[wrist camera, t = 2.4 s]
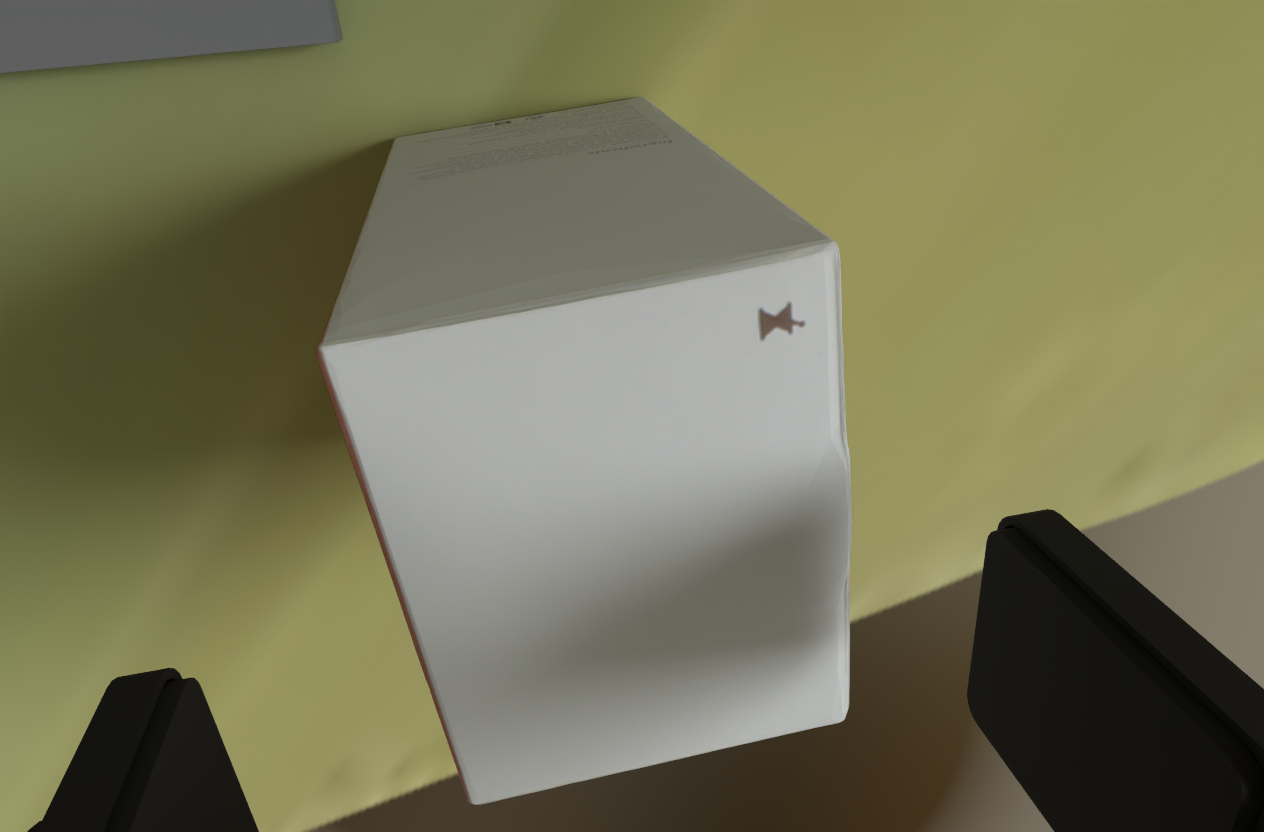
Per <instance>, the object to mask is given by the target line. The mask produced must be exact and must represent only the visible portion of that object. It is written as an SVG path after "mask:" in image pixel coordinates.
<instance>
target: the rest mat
mask: <svg viewBox="0 0 1264 832" xmlns="http://www.w3.org/2000/svg"><path fill="white" fill-rule="evenodd" d="M340 40H342V35H341V30H340V26H339V21H338V16H337V11H336V7H335V2H334V0H0V73H7V72H18V71H29V70H40V69H51V68H62V67H73V66H84V65H94V64H105V63H116V62H127V61H138V60H149V59H160V58H171V57H182V56H193V55H204V54H215V53H225V52H236V51H247V50H258V49H269V48H280V47H291V46H302V45H313V44H324V43H335V42H338V41H340Z"/></svg>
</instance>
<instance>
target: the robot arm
mask: <svg viewBox="0 0 1264 832" xmlns="http://www.w3.org/2000/svg"><path fill="white" fill-rule="evenodd" d="M967 698H968V704H969V708H970V711H971V713H972V716H973V718H974V720H975V721H976V723H977V725H978V726H979V727H980V729H981V730H982V732H983V733H984V734H985V736H986V737H987V739H988V740H989V741H990V743H991V744H992V745H993V747H994V748H995V750H996V751H997V752H998V754H999V755H1000V757H1001V758H1002V759H1003V761H1004V762H1005V764H1006V765H1007V766H1008V768H1009V769H1010V771H1011V772H1012V773H1013V775H1014V776H1015V778H1016V779H1017V780H1018V782H1019V783H1020V784H1021V786H1022V787H1023V789H1024V790H1025V791H1026V793H1027V794H1028V796H1029V797H1030V798H1031V800H1032V801H1033V803H1034V804H1035V805H1036V807H1037V808H1038V810H1039V811H1040V812H1041V814H1042V815H1043V816H1044V818H1045V819H1046V820H1047V822H1048V823H1049V825H1050V826H1051V828H1052V829H1053V830H1054V832H1264V689H1263V688H1262V687H1261V686H1259V685H1258V684H1257V683H1256V682H1255V681H1253V680H1252V679H1251V678H1250V677H1249V676H1248V675H1247V674H1245V673H1244V672H1243V671H1242V670H1241V669H1240V668H1239V667H1237V666H1236V665H1235V664H1234V663H1233V662H1231V661H1230V660H1229V659H1228V658H1227V657H1226V656H1225V655H1223V654H1222V653H1221V652H1220V651H1219V650H1218V649H1216V648H1215V647H1214V646H1213V645H1212V644H1211V643H1209V642H1208V641H1207V640H1206V639H1205V638H1203V637H1202V636H1201V635H1200V634H1199V633H1198V632H1197V631H1195V630H1194V629H1193V628H1192V627H1191V626H1190V625H1188V624H1187V623H1186V622H1185V621H1184V620H1183V619H1181V618H1180V617H1179V616H1178V615H1177V614H1176V613H1174V612H1173V611H1172V610H1171V609H1170V608H1169V607H1167V606H1166V605H1165V604H1164V603H1163V602H1161V601H1160V600H1159V599H1158V598H1157V597H1156V596H1155V595H1154V594H1152V593H1151V592H1150V591H1149V590H1148V589H1147V588H1145V587H1144V586H1143V585H1142V584H1140V582H1138V581H1137V580H1136V579H1135V578H1134V577H1133V576H1131V575H1130V574H1129V573H1128V572H1127V571H1125V570H1124V569H1123V568H1122V567H1121V566H1120V565H1118V564H1117V563H1116V562H1115V561H1114V560H1113V559H1111V558H1110V557H1109V556H1108V555H1107V554H1106V553H1105V552H1103V551H1102V550H1101V549H1100V548H1099V547H1098V546H1096V545H1095V544H1094V543H1093V542H1092V541H1090V540H1089V539H1088V538H1087V537H1086V536H1085V535H1084V534H1082V533H1081V532H1080V531H1079V530H1078V529H1077V528H1075V527H1074V526H1073V525H1072V524H1071V523H1070V522H1069V521H1067V520H1066V519H1065V518H1064V517H1063V516H1062V515H1060V514H1059V513H1057V512H1055V511H1054V510H1048V509H1046V510H1041V511H1035V512H1030V513H1024V514H1019V515H1013V516H1008V517H1005V518H1003V519H1002V520H1001V522H1000V523H999V525H998V529H997V531H993V532H991V533H990V535H989V536H988V539H987V544H986V551H985V559H984V567H983V574H982V582H981V590H980V598H979V605H978V613H977V621H976V628H975V636H974V644H973V652H972V659H971V667H970V675H969V682H968V690H967ZM28 832H259V831H258V828H257V826H256V823H255V821H254V818H253V816H252V813H251V811H250V808H249V806H248V803H247V801H246V798H245V796H244V793H243V791H242V788H241V786H240V783H239V781H238V778H237V776H236V773H235V771H234V768H233V766H232V763H231V761H230V758H229V756H228V753H227V751H226V748H225V746H224V743H223V741H222V738H221V736H220V733H219V731H218V728H217V726H216V723H215V721H214V718H213V716H212V713H211V711H210V708H209V706H208V703H207V701H206V698H205V696H204V693H203V691H202V688H201V686H200V684H199V682H198V681H197V680H196V679H195V678H187V679H182V677H181V675H180V673H179V672H178V671H177V670H175V669H174V668H166V669H161V670H155V671H150V672H144V673H139V674H133V675H127V676H122V677H117V678H116V679H114V680H112V681H111V683H110V684H109V686H108V687H107V689H106V691H105V693H104V695H103V697H102V699H101V701H100V703H99V705H98V707H97V709H96V712H95V714H94V716H93V718H92V720H91V722H90V724H89V726H88V728H87V730H86V732H85V734H84V736H83V738H82V740H81V742H80V744H79V746H78V748H77V750H76V753H75V755H74V757H73V759H72V761H71V763H70V765H69V767H68V769H67V771H66V773H65V775H64V777H63V779H62V781H61V783H60V785H59V787H58V789H57V791H56V794H55V796H54V798H53V800H52V802H51V804H50V806H49V808H48V810H47V812H46V814H45V816H44V818H43V820H42V821H39V822H38V823H37V824H36V825H34V826H33V827H32V828H31V829H29V830H28Z"/></svg>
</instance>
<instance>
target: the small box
mask: <svg viewBox="0 0 1264 832" xmlns="http://www.w3.org/2000/svg"><path fill="white" fill-rule="evenodd" d="M316 354H317V359H318V362H319V365H320V368H321V371H322V374H323V377H324V380H325V383H326V386H327V389H328V392H329V395H330V398H331V401H332V404H333V407H334V410H335V413H336V416H337V419H338V422H339V425H340V428H341V431H342V434H343V437H344V440H345V443H346V446H347V449H348V452H349V455H350V457H351V460H352V463H353V466H354V469H355V472H356V475H357V478H358V481H359V484H360V487H361V490H362V493H363V496H364V498H365V501H366V504H367V507H368V510H369V513H370V516H371V519H372V522H373V525H374V528H375V531H376V534H377V537H378V539H379V542H380V545H381V548H382V551H383V554H384V557H385V560H386V563H387V566H388V569H389V572H390V575H391V578H392V581H393V584H394V587H395V589H396V592H397V595H398V598H399V601H400V604H401V607H402V610H403V613H404V616H405V619H406V622H407V625H408V628H409V631H410V634H411V637H412V640H413V643H414V646H415V649H416V652H417V655H418V658H419V661H420V664H421V667H422V670H423V672H424V675H425V678H426V681H427V683H428V686H429V688H430V692H431V695H432V698H433V701H434V704H435V707H436V710H437V712H438V715H439V718H440V721H441V724H442V727H443V730H444V732H445V735H446V738H447V741H448V744H449V747H450V750H451V753H452V756H453V759H454V762H455V765H456V768H457V770H458V773H459V776H460V779H461V782H462V785H463V787H464V790H465V793H466V796H467V800H468V802H469V803H472V804H476V805H478V804H484V803H489V802H493V801H497V800H501V799H506V798H510V797H514V796H519V795H523V794H528V793H532V792H536V791H541V790H546V789H550V788H554V787H558V786H562V785H566V784H570V783H574V782H579V781H584V780H588V779H593V778H597V777H601V776H605V775H609V774H614V773H618V772H622V771H627V770H631V769H637V768H641V767H646V766H650V765H654V764H658V763H663V762H667V761H671V760H676V759H680V758H684V757H688V756H693V755H697V754H702V753H706V752H710V751H714V750H719V749H723V748H728V747H732V746H736V745H741V744H745V743H750V742H753V741H758V740H762V739H767V738H772V737H776V736H780V735H785V734H789V733H793V732H798V731H802V730H806V729H811V728H816V727H820V726H825V725H830V724H835V723H839V722H841V721H843V720H844V719H845V717H846V714H847V711H848V708H849V651H850V650H849V649H850V625H849V567H850V551H851V536H852V496H851V479H850V456H849V449H848V443H847V433H846V421H845V390H844V354H843V337H842V300H841V260H840V254H839V248H838V245H837V243H836V242H835V241H834V240H833V239H831V238H830V237H829V236H827V235H826V234H825V233H823V232H822V231H821V230H819V229H818V228H816V227H814V226H813V225H811V224H810V223H809V222H808V221H806V220H805V219H804V218H803V217H801V216H800V215H799V214H798V213H796V212H795V211H794V210H793V209H791V208H790V207H789V206H787V205H786V204H785V203H783V202H782V201H781V200H779V199H778V198H776V197H775V196H774V195H772V194H771V193H770V192H768V191H767V190H766V189H764V188H763V187H762V186H760V185H759V184H758V183H756V182H755V181H754V180H752V179H751V178H750V177H748V176H747V175H746V174H744V173H743V172H742V171H740V170H739V169H738V168H736V167H735V166H734V165H732V164H731V163H730V162H728V161H727V160H726V159H724V158H723V157H722V156H720V155H719V154H718V153H717V152H715V151H714V150H712V149H711V148H710V147H709V146H707V145H706V144H704V143H703V142H702V141H701V140H699V139H698V138H697V137H695V136H694V135H693V134H692V133H690V132H689V131H688V130H686V129H685V128H684V127H682V126H681V125H680V124H678V123H677V122H676V121H674V120H673V119H671V118H670V117H669V116H668V115H666V114H665V113H663V112H662V111H661V110H660V109H658V108H657V107H656V106H654V105H653V104H652V103H650V102H649V101H648V100H646V99H645V98H644V97H638V98H633V99H627V100H622V101H617V102H609V103H604V104H599V105H593V106H587V107H581V108H574V109H569V110H563V111H557V112H551V113H545V114H539V115H533V116H527V117H520V118H514V119H508V120H502V121H496V122H490V123H484V124H477V125H471V126H464V127H458V128H451V129H446V130H440V131H434V132H428V133H422V134H416V135H409V136H403V137H399V138H396V139H395V140H394V141H393V144H392V147H391V150H390V152H389V154H388V158H387V161H386V163H385V166H384V169H383V172H382V175H381V178H380V180H379V183H378V186H377V189H376V192H375V194H374V197H373V200H372V202H371V205H370V208H369V210H368V213H367V216H366V218H365V220H364V224H363V226H362V229H361V232H360V235H359V237H358V240H357V243H356V246H355V248H354V251H353V254H352V257H351V260H350V262H349V265H348V268H347V271H346V274H345V277H344V280H343V282H342V285H341V288H340V290H339V293H338V296H337V299H336V301H335V304H334V307H333V310H332V312H331V315H330V317H329V320H328V323H327V325H326V328H325V330H324V332H323V335H322V339H321V341H320V343H319V345H318V347H317V350H316Z"/></svg>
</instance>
